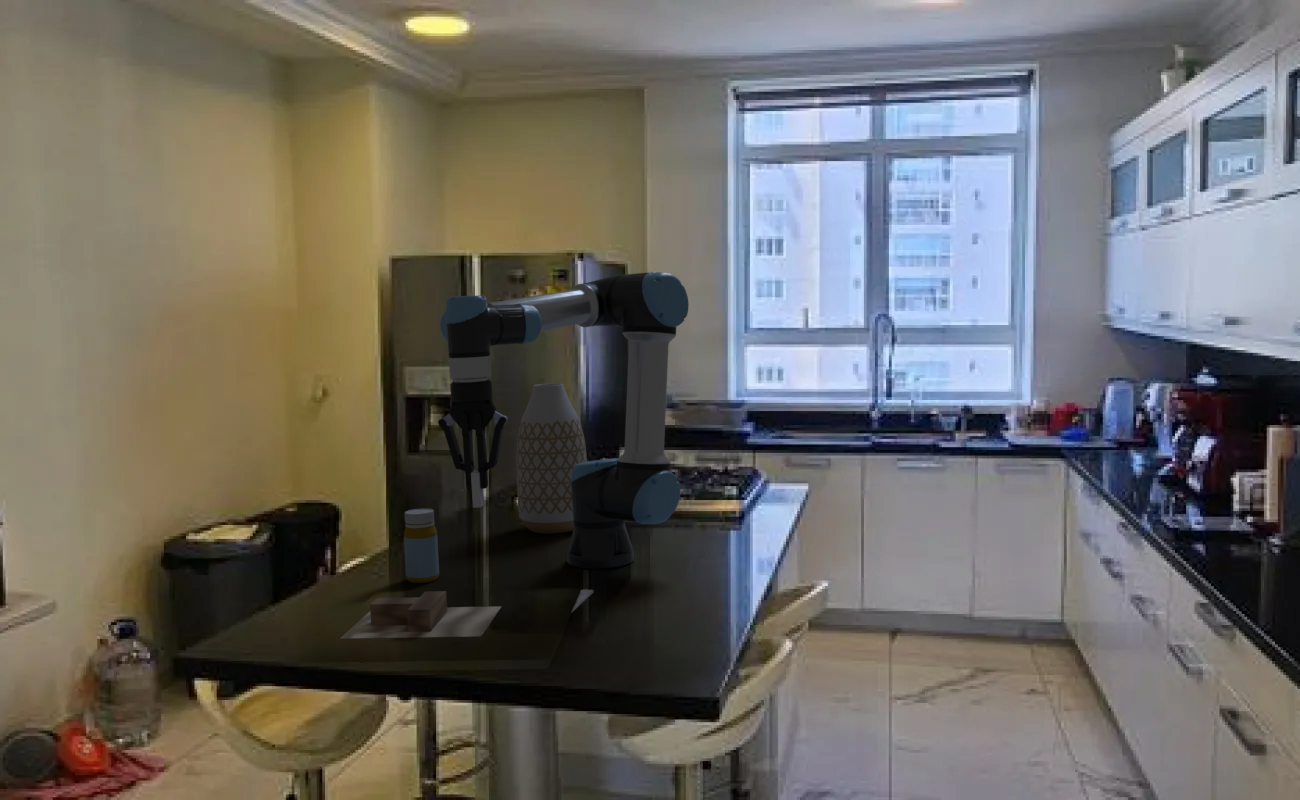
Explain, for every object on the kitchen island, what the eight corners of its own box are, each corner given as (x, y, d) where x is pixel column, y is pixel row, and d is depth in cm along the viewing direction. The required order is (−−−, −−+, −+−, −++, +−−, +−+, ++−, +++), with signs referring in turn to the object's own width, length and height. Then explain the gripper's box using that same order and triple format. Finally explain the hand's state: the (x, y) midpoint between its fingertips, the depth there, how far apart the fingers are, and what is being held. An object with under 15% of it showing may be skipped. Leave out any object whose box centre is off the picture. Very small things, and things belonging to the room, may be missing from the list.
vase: (529, 522, 284) (522, 382, 281) (596, 521, 281) (590, 381, 278) (510, 537, 266) (503, 388, 262) (582, 537, 263) (576, 386, 260)
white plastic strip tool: (544, 614, 198) (544, 609, 198) (570, 593, 213) (570, 588, 213) (570, 615, 197) (569, 609, 197) (594, 594, 211) (594, 589, 211)
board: (501, 612, 199) (501, 606, 199) (481, 642, 181) (481, 636, 181) (372, 614, 201) (372, 608, 201) (340, 645, 183) (339, 638, 183)
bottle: (431, 584, 222) (427, 514, 221) (400, 583, 223) (397, 514, 222) (444, 575, 229) (440, 508, 227) (414, 575, 230) (410, 508, 229)
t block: (447, 611, 197) (446, 591, 196) (430, 631, 185) (429, 609, 185) (384, 613, 197) (383, 592, 197) (364, 632, 186) (362, 610, 185)
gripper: (509, 376, 196) (516, 500, 198) (440, 379, 196) (448, 503, 199) (502, 380, 188) (509, 509, 190) (430, 382, 189) (438, 511, 191)
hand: (478, 505), depth 194 cm, fingers closed
